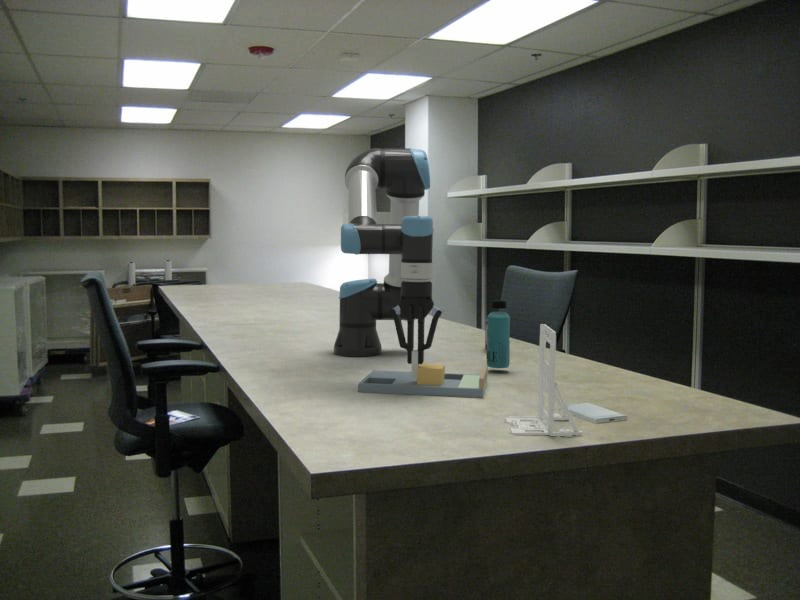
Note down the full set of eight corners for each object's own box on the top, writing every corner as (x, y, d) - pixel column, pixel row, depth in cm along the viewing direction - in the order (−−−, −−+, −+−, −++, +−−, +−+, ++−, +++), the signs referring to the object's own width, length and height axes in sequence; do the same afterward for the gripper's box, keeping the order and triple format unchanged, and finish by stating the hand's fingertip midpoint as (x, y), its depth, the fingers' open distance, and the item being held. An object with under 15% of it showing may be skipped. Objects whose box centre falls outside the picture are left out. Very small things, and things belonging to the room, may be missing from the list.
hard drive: (559, 405, 164) (596, 418, 152) (589, 402, 167) (627, 414, 156) (559, 412, 164) (595, 426, 152) (589, 409, 167) (627, 422, 156)
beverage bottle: (512, 370, 210) (514, 299, 208) (505, 374, 204) (507, 301, 202) (490, 368, 212) (491, 298, 210) (482, 372, 206) (484, 300, 204)
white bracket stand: (502, 417, 157) (504, 323, 155) (568, 418, 156) (571, 323, 154) (510, 436, 142) (512, 332, 140) (583, 437, 142) (587, 333, 140)
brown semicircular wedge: (507, 354, 236) (508, 323, 236) (488, 354, 237) (488, 323, 236) (503, 348, 249) (503, 319, 248) (484, 348, 249) (485, 318, 248)
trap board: (358, 391, 180) (358, 373, 180) (373, 377, 198) (373, 360, 197) (483, 397, 175) (483, 378, 175) (487, 382, 193) (487, 365, 192)
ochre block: (416, 384, 180) (417, 367, 179) (420, 379, 186) (420, 363, 185) (441, 385, 179) (442, 368, 178) (444, 380, 185) (444, 364, 184)
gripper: (386, 280, 177) (386, 378, 179) (441, 282, 175) (439, 381, 177) (392, 278, 184) (391, 373, 187) (445, 280, 182) (443, 375, 184)
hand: (415, 377), depth 182 cm, fingers closed
